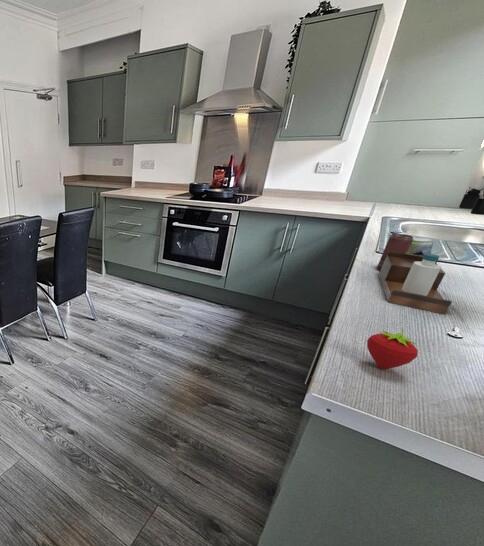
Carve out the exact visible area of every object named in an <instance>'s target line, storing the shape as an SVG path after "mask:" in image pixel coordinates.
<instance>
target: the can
mask: <svg viewBox="0 0 484 546" xmlns="http://www.w3.org/2000/svg"><path fill="white" fill-rule="evenodd" d="M413 238H414V236H412V235H409V234H403V233H396V232H395V233H392V234H391V235H389V237H388V240H387V242H386V245H385V247H384V249H383V252H382V254H381V256H380V259H379V261H378V264H377V266H376V270H377V271H378V272H380V270H381V268H382V266H383V263H384V261H385V259H386V256H387V254H388V252H389V251H392V252H399V253H406V254H407V253H408V251H409V248H410V246H411V244H412V242H413Z"/></svg>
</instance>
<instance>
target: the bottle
mask: <svg viewBox="0 0 484 546" xmlns="http://www.w3.org/2000/svg"><path fill="white" fill-rule="evenodd" d="M439 258H440V255H438V254H434V253H431V254H424V256H423V260H422V262H414V263H413V265H412V267H411V269H410V272H409V274H408V276H407V278H406V280H405V282H404V284H403V287H402V291H404V292H409V293H414V294H419V295H424V296H427V295H428V293H429V291H430V289H431V287H432V285H433V283H434V281H435V279H436V277H437V275H438V273H439V271H440V269H442V266H441V265H439V264H438V265H435V262H436V261H437V260H438V261H439ZM438 261H437V262H438Z"/></svg>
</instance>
